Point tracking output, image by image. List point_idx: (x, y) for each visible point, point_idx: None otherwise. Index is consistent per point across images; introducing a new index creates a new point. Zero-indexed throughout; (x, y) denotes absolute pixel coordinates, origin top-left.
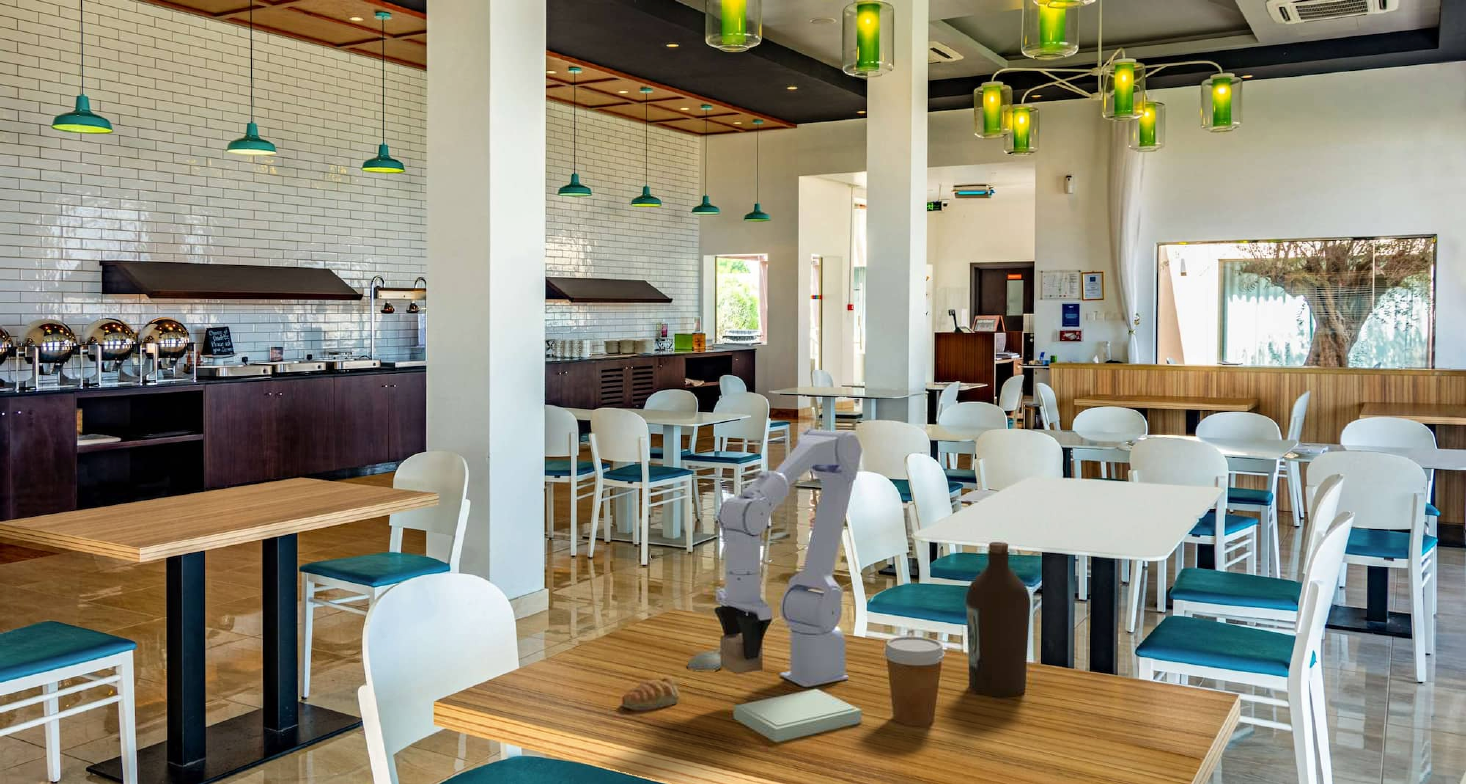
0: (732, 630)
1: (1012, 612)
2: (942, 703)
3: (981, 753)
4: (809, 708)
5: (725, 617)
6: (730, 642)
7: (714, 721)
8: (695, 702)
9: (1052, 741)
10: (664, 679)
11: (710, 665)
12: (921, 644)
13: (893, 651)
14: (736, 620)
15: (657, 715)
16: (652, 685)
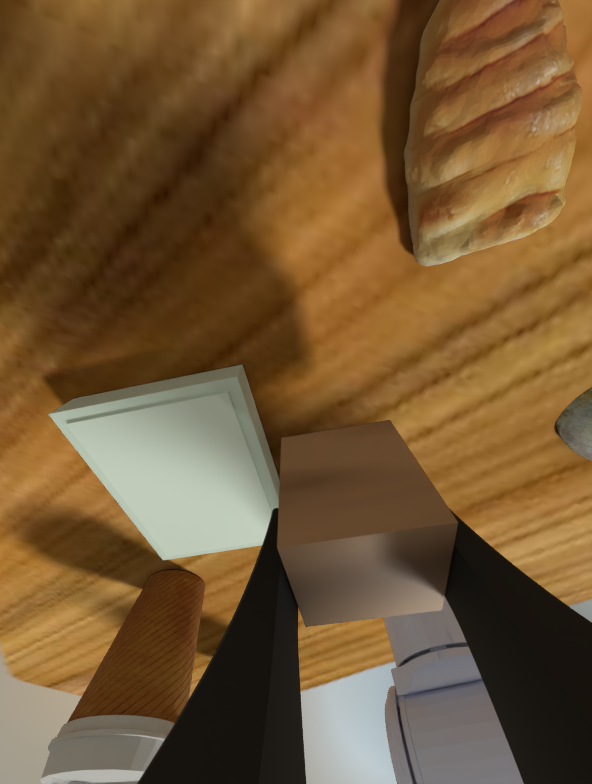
0: (465, 591)
1: None
2: (229, 616)
3: (43, 599)
4: (175, 504)
5: (559, 703)
6: (336, 530)
7: (236, 312)
8: (392, 311)
9: (88, 644)
10: (518, 212)
11: (584, 423)
12: (122, 776)
13: (73, 757)
14: (503, 679)
15: (341, 141)
16: (491, 122)
